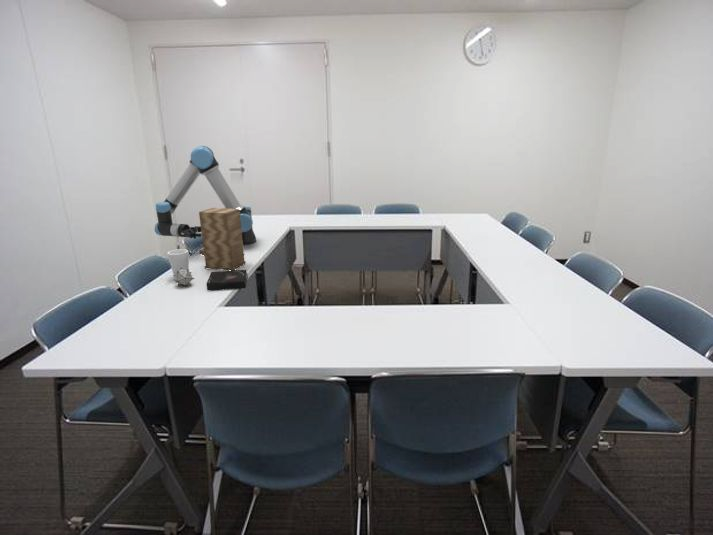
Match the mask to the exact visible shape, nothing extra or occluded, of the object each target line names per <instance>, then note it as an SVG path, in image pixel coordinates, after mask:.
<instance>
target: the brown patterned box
mask: <svg viewBox="0 0 713 535" xmlns="http://www.w3.org/2000/svg"><path fill="white" fill-rule="evenodd" d="M198 216H199V221H200V223H199V224H200V226H201V232H202V238H201V239H202V240H201V241H202V246H203V248H202V249H204V256H203V257H204V264H205V265H204V269H206V268H211V269H210V270H218V269H223V270H222V271H229V270H235V269H236V270H238V269H240V268H241V267H242V266H244V265H245V263H247V262H246V261H245V256H244V254H245V253H244V245H243V240H242V229H241V218H240V209H227V208H225V207H223V208H221V207H211V208H208V209H204V210H201V211H199V212H198ZM243 264H244V265H243ZM240 266H241V267H240ZM237 268H238V269H237Z"/></svg>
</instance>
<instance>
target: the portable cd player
mask: <svg viewBox="0 0 713 535" xmlns="http://www.w3.org/2000/svg"><path fill="white" fill-rule="evenodd" d="M247 271H248V270H247V269H236V270H231V271H229V270H219V271H217V270H215V271H211V272H210V274H209V276H208V279H207V281H206V290H212V291H223V289H224V291H225V289H226V290H239V289H240V290H241V289H246V287H247V283H248V272H247Z"/></svg>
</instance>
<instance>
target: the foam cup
mask: <svg viewBox="0 0 713 535" xmlns="http://www.w3.org/2000/svg"><path fill="white" fill-rule="evenodd" d="M189 257H190V254H189V250H188V249H187V248H186V249H185V248H179V249H173V250H170V251H167V259H168V260H169V264H170V268H171V271H172V274H173V275H174V276H175V275H176V274H177V273H178V272H179V271H180V270H181V268H182V269H183V270H188V269H189V270H190V268H189V265H190V264H189V262H190V261H189V260H190V259H189ZM177 271H178V272H177ZM174 276H173V277H174Z"/></svg>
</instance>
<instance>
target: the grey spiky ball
mask: <svg viewBox="0 0 713 535" xmlns="http://www.w3.org/2000/svg"><path fill="white" fill-rule="evenodd" d="M177 272H178V271H177ZM172 277H174V279H175V283H176V284H177V286H180V285H182V286H185V287H186V288H187V285H189V284H190V282H191V281H192V280H195V278H194V277H193V275H192V271H191V272H190V268H189V269H188V270H183V269H182V268H181V270H180V271H179V272H178V273H177V274H176V275H175V276H174V274H173V275H172Z"/></svg>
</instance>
